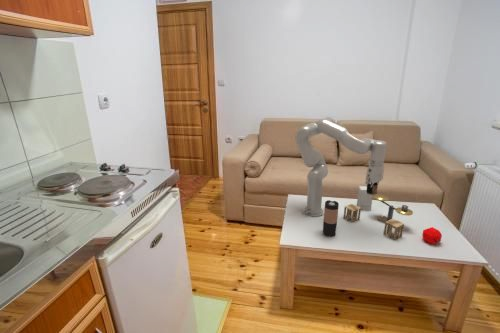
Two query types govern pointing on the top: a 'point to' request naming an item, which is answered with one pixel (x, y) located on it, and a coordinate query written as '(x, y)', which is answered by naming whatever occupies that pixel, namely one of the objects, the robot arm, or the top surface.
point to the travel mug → (330, 218)
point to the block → (373, 190)
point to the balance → (391, 208)
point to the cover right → (395, 224)
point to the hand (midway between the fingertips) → (371, 191)
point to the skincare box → (364, 198)
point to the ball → (432, 235)
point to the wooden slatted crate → (350, 213)
